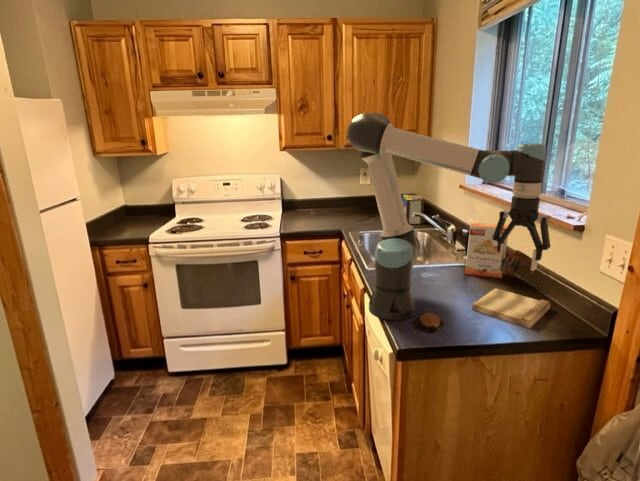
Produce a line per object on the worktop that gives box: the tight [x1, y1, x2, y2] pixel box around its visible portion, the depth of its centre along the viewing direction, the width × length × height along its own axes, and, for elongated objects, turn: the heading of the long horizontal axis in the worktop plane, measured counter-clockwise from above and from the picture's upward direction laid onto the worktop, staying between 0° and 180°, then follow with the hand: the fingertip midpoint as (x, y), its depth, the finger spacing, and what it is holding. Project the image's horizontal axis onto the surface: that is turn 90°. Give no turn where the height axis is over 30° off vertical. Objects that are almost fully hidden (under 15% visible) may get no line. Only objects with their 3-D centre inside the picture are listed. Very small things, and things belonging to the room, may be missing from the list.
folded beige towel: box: [471, 287, 551, 329], centre depth 130 cm, size 18×18×3 cm
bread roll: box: [412, 312, 444, 335], centre depth 121 cm, size 11×8×4 cm
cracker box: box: [464, 222, 509, 279], centre depth 157 cm, size 14×6×21 cm, turn 70°
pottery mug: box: [500, 249, 535, 276], centre depth 124 cm, size 12×10×8 cm
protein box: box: [402, 194, 425, 225], centre depth 244 cm, size 10×15×16 cm
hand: (517, 265), depth 125 cm, fingers closed on pottery mug, 9 cm apart
